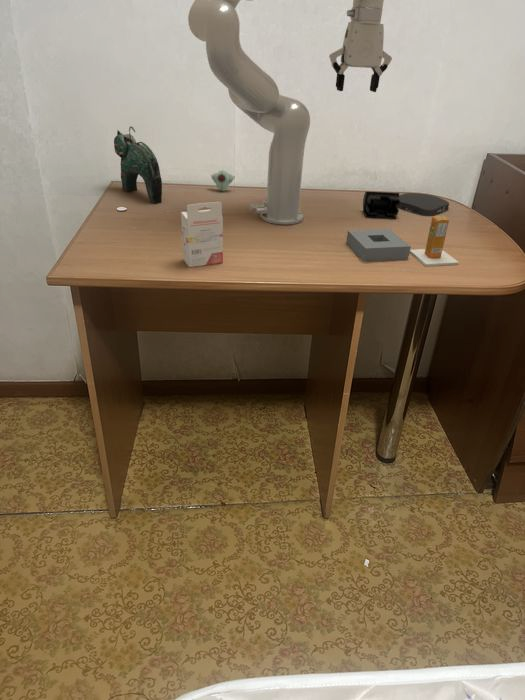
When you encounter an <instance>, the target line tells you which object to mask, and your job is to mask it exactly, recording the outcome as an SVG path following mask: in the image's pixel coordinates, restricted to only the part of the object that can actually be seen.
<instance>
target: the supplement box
mask: <svg viewBox="0 0 525 700" xmlns="http://www.w3.org/2000/svg"><path fill="white" fill-rule="evenodd" d="M449 221H450V219H449V218H447V217H446V216H445V215H434V216H431V222H430V226H429V231H428V236H427V240H426V245H425V248H424V249H425V255H427V256H428V257H429V258H440V257H441V254H442V250H443V251H444V249H443V248H444V245H445V240H446V235H447V231H448V227H449V223H450V222H449Z"/></svg>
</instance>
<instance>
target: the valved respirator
mask: <svg viewBox="0 0 525 700" xmlns="http://www.w3.org/2000/svg"><path fill="white" fill-rule="evenodd" d="M210 177H211V180H212V181H213V182H214V183H215V185H216V187H217V189H218V190H219V191H222V192H224V191H226V190H227V189H228V188H229V186H230V184H232V182H233V181H234V180H235V179H236V176H235V175H233V174H230V173H228V172H227V171H226V170H224V169H223V170H219V171H218V172H216V173H212V174H210Z"/></svg>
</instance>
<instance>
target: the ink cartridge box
mask: <svg viewBox="0 0 525 700" xmlns="http://www.w3.org/2000/svg"><path fill="white" fill-rule="evenodd" d="M204 208H206V209H204ZM222 214H223V205H222V202H221V201H214V202H213V201H212V202H198V203H191V204H186V211H181V212H180V219H181V220H180V221H181V239H182V241H181V242H182V259H183V262H184V263H185V264H186V265H187V266H188V268H194V267H202V266H208V265H216V264H218V265H219V264H223V262H224V254H223V253H224V250H223V249H224V241H223V240H224V238H223V237H224V236H223V235H224V224H223V223H224V222H223V221H224V220H223V219H224V218H223V215H222Z"/></svg>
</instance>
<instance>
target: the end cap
mask: <svg viewBox="0 0 525 700" xmlns="http://www.w3.org/2000/svg"><path fill="white" fill-rule="evenodd" d="M399 195H400V193H399V192H386V191H385V192H384V191H369V190H367V191H365V192H364V194H363V200H362V211H363V212H364V216H365V217H366V218H367V219H378V220H379V219H380V220H397V219H398V218H397V215H399V211H400V210H399V208H397V205H400V200H399Z"/></svg>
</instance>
